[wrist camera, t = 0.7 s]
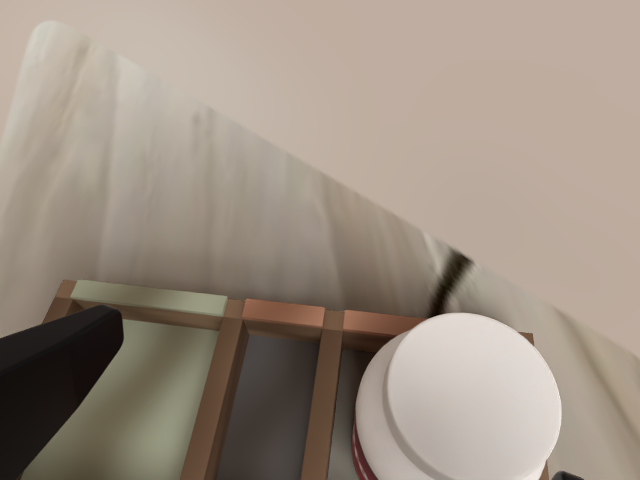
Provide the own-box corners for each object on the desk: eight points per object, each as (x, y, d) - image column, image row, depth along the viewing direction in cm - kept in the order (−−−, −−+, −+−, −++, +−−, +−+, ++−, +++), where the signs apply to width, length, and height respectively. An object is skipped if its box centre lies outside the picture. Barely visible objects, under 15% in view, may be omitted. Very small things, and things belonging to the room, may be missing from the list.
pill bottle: (353, 379, 24) (364, 278, 15) (477, 389, 23) (568, 291, 14) (346, 520, 20) (353, 505, 11) (489, 535, 20) (620, 534, 11)
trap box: (515, 351, 24) (534, 331, 22) (539, 617, 18) (568, 629, 16) (85, 299, 27) (60, 277, 24) (-15, 521, 21) (-60, 519, 19)
